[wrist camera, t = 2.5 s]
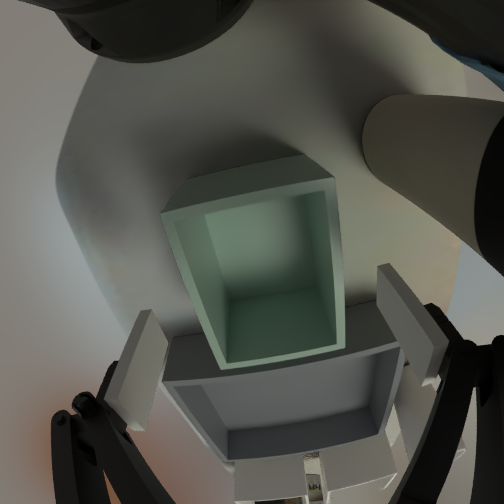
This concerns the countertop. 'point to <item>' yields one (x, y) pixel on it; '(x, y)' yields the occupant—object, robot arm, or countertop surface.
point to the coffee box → (310, 491)
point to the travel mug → (444, 162)
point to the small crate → (262, 259)
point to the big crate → (290, 393)
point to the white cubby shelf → (332, 466)
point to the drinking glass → (415, 410)
